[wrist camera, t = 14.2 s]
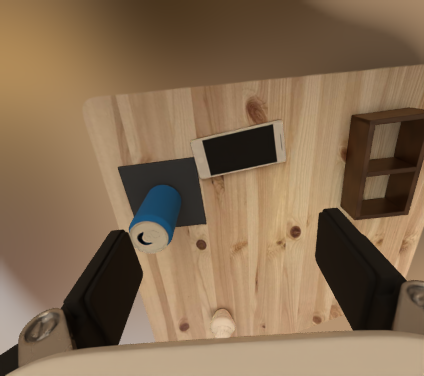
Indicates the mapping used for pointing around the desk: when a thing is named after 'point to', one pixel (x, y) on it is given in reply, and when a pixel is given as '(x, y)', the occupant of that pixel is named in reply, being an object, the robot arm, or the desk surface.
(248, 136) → the smartphone
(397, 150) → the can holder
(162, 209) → the beverage can
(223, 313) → the muffin
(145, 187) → the mat
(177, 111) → the desk surface
